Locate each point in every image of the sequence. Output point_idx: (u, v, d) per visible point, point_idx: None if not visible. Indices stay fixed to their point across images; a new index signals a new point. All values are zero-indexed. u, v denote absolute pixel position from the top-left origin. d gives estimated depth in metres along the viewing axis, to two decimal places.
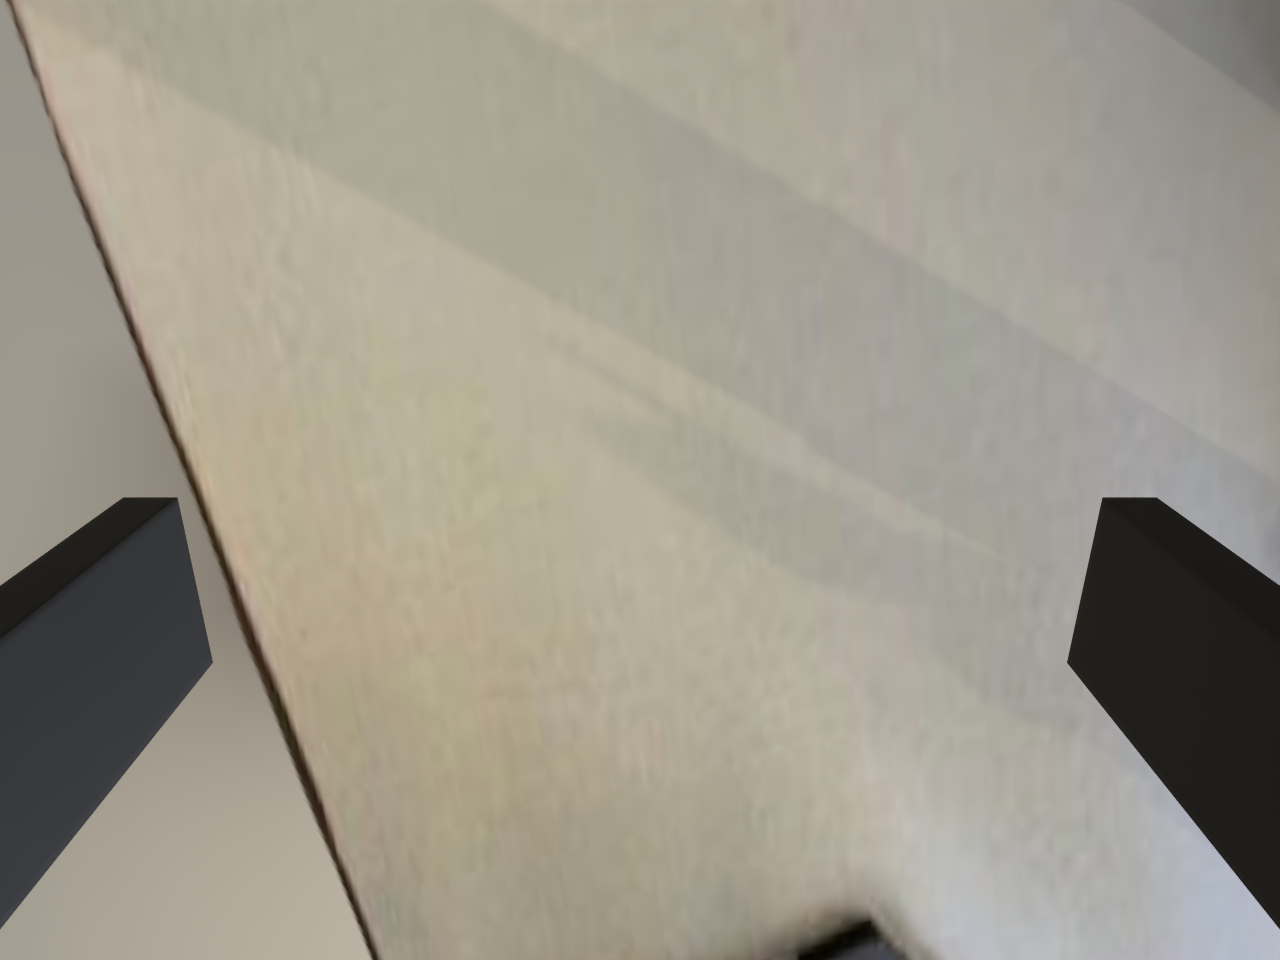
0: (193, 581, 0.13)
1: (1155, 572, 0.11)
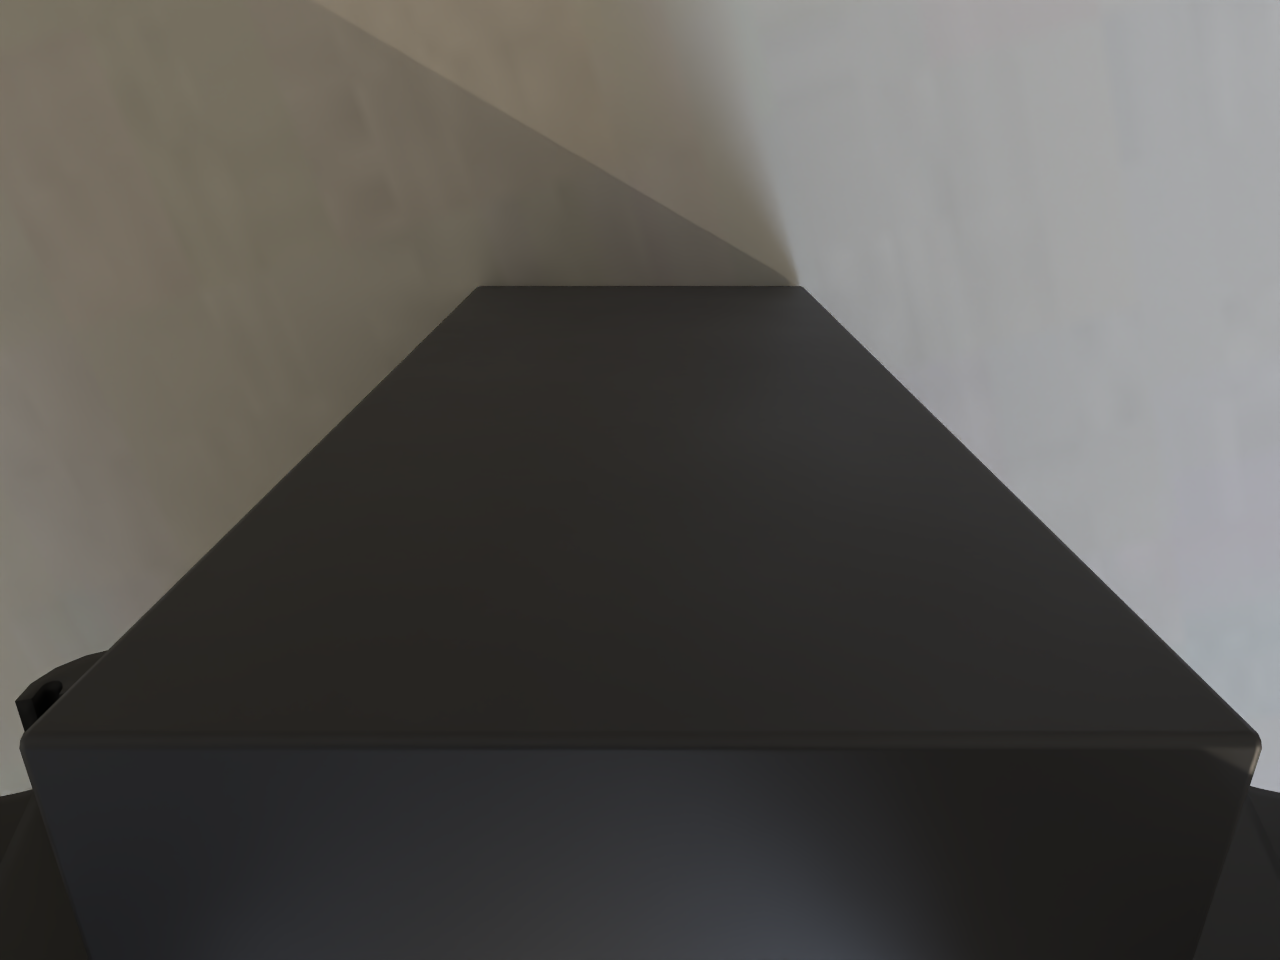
0: None
1: None
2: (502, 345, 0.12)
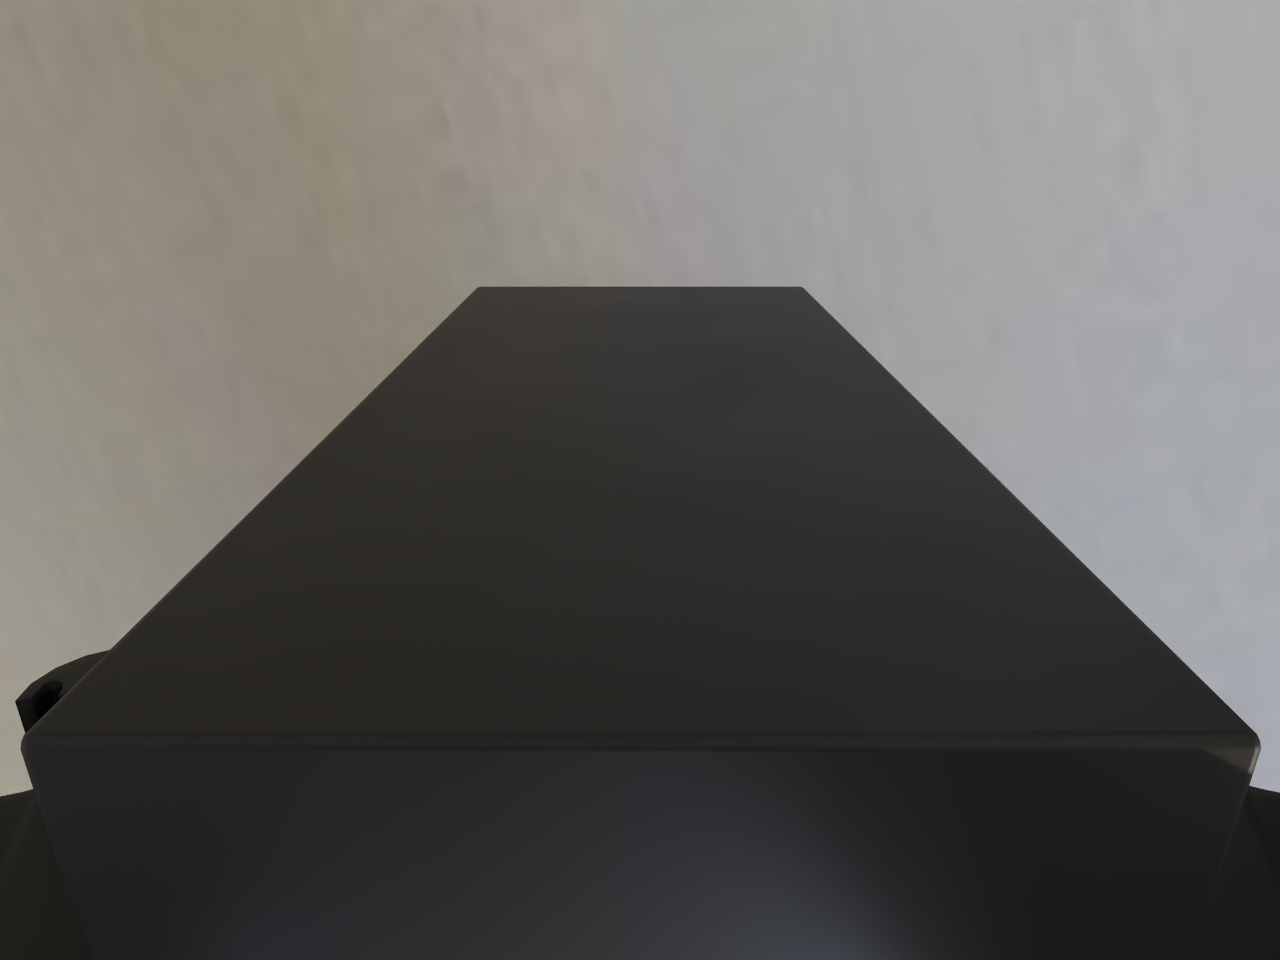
0: None
1: None
2: (502, 346, 0.12)
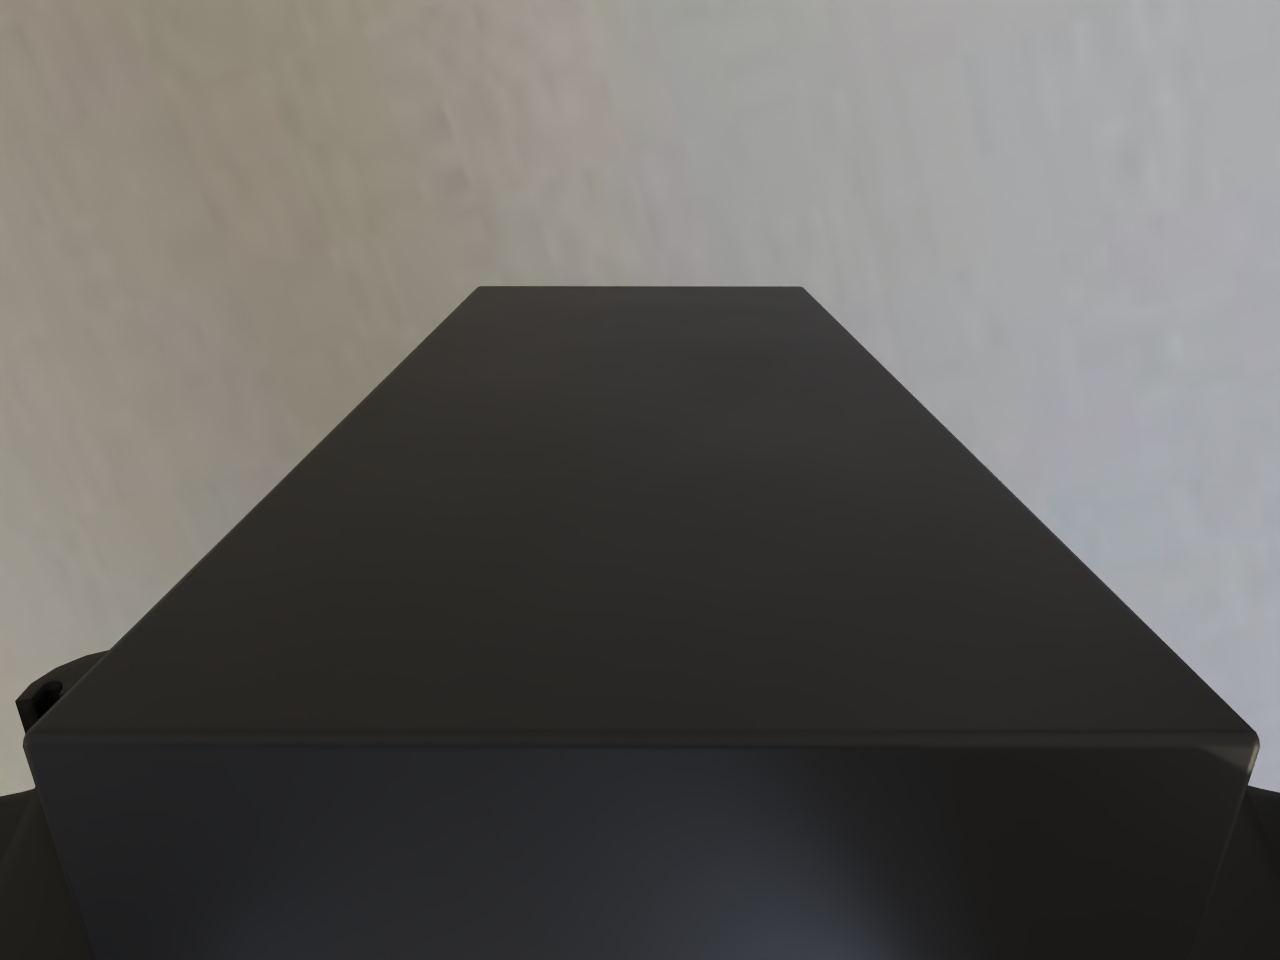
0: None
1: None
2: (502, 345, 0.12)
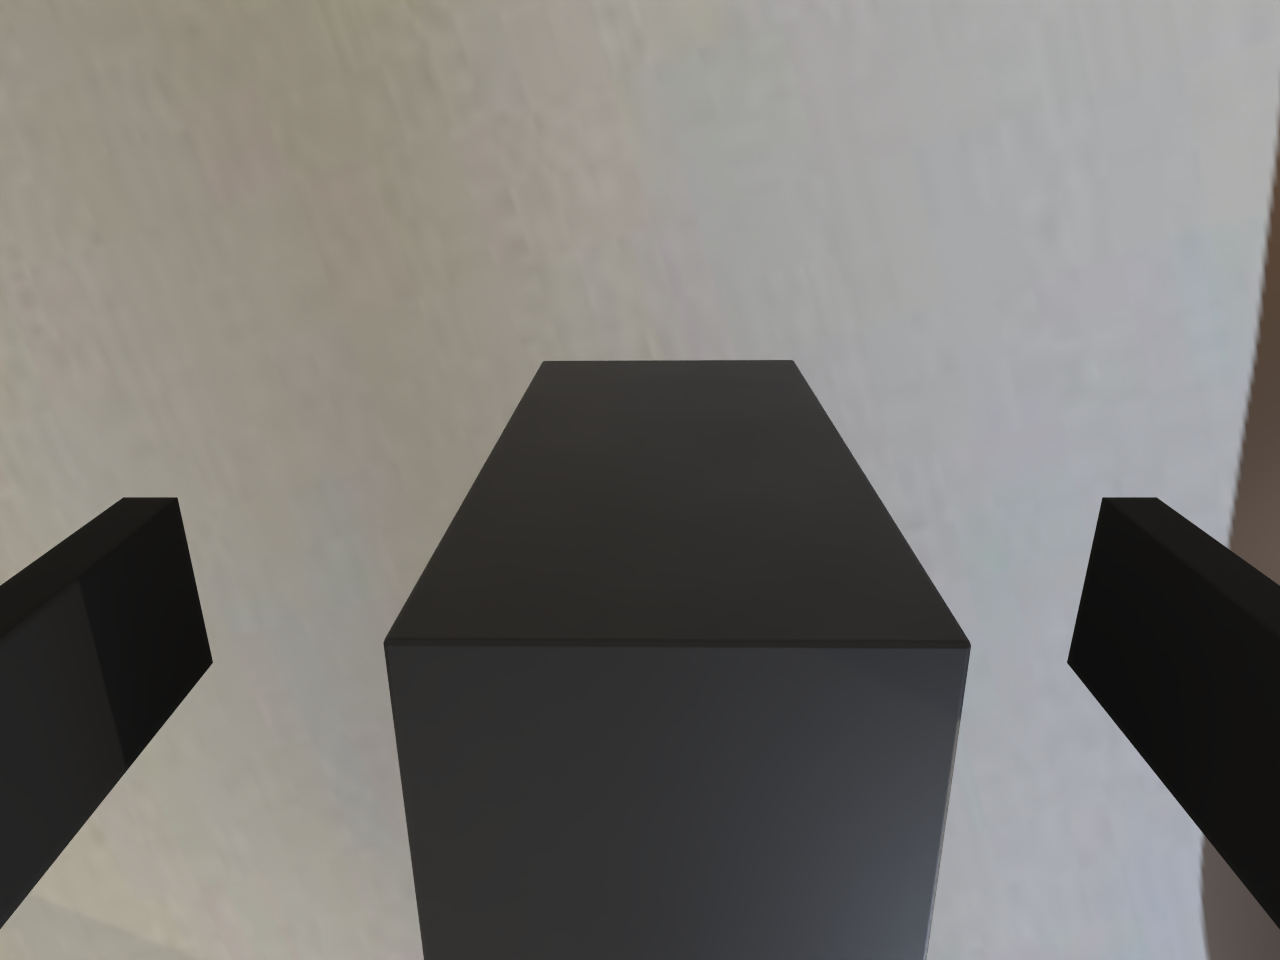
0: (193, 581, 0.13)
1: (1155, 572, 0.11)
2: (571, 416, 0.17)
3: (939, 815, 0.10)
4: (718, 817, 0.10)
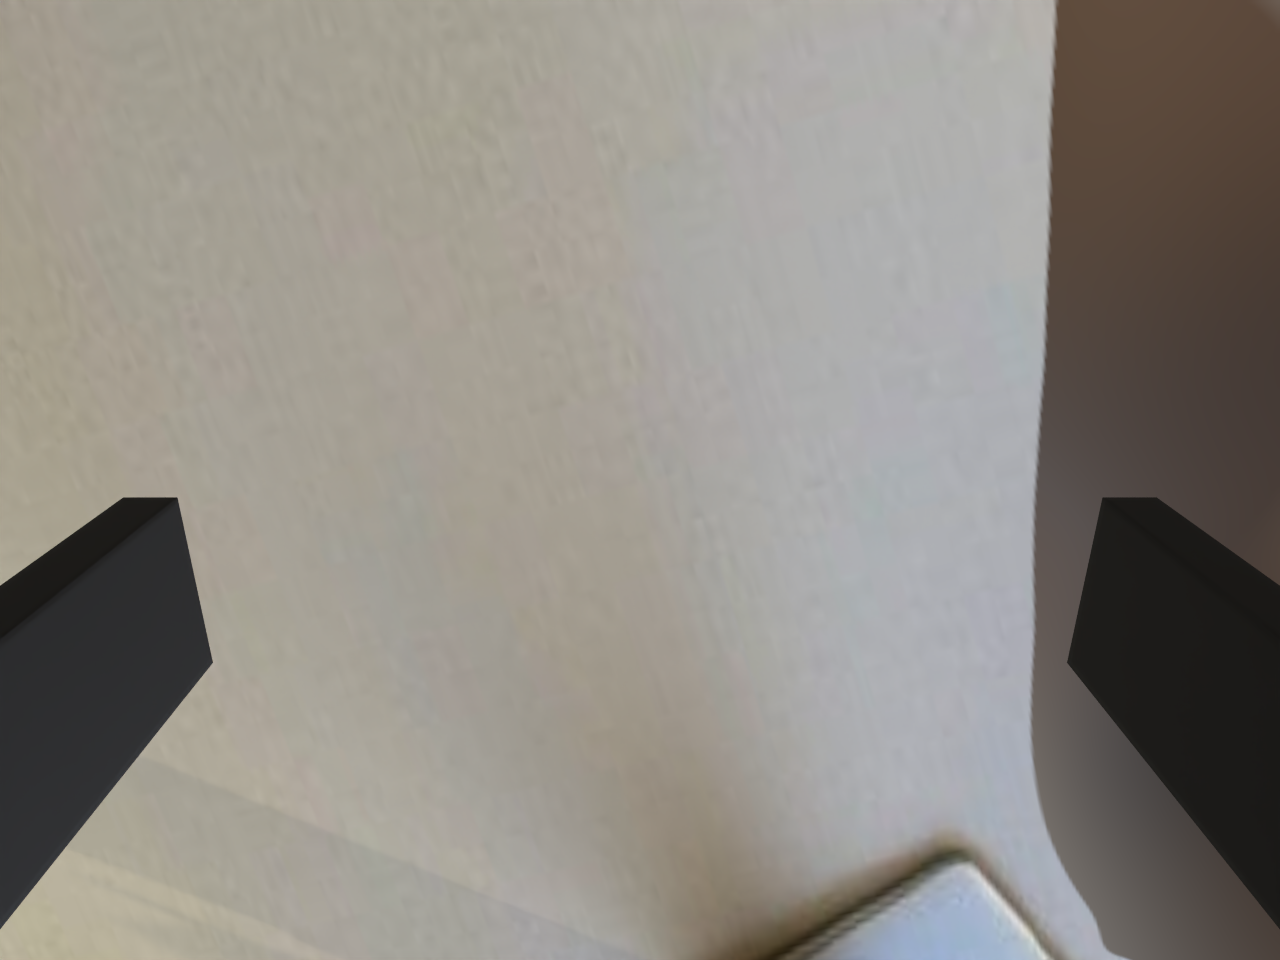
0: (193, 581, 0.13)
1: (1155, 572, 0.11)
2: None
3: None
4: None
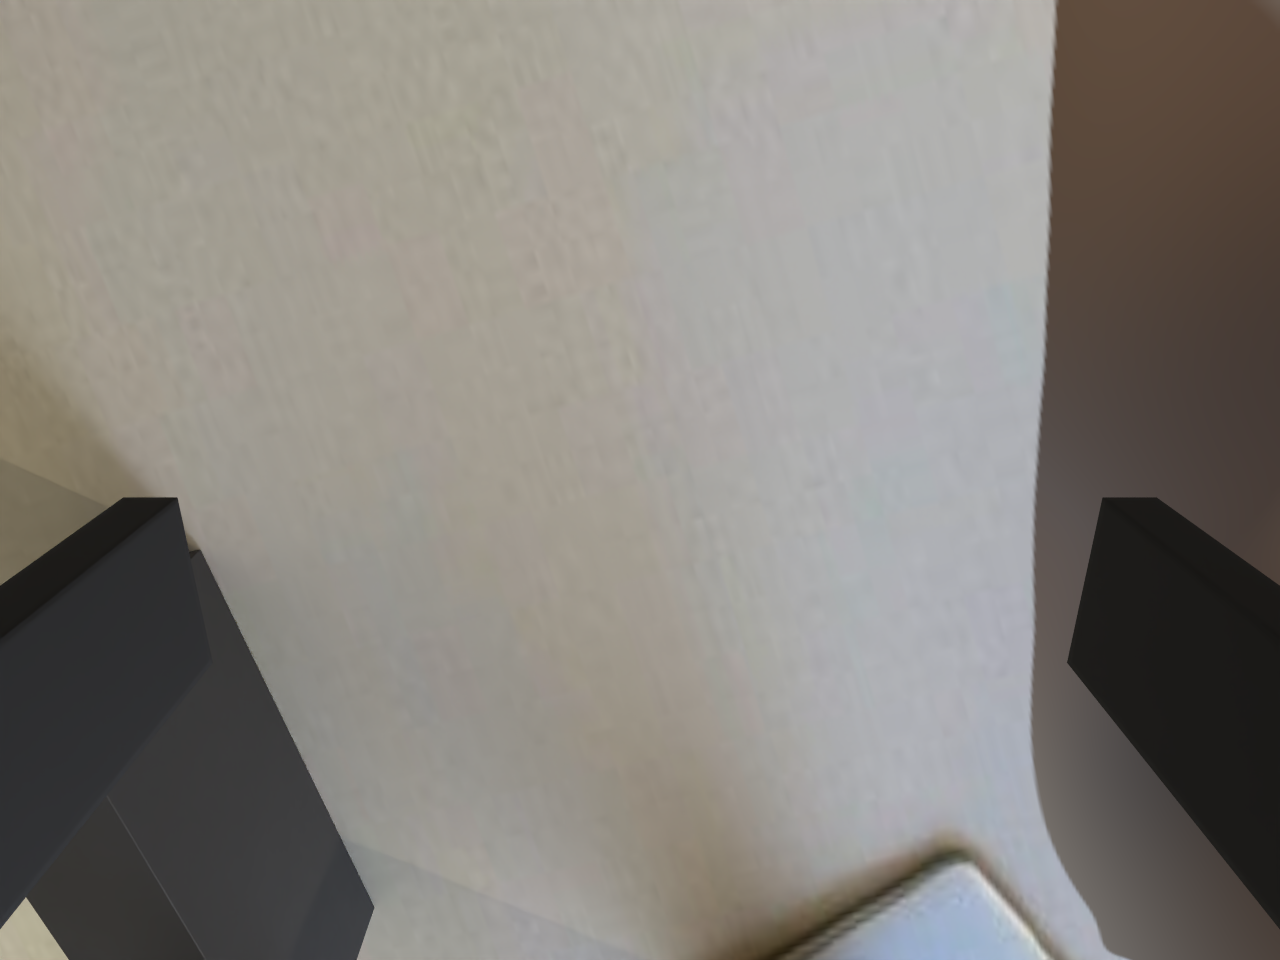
0: (193, 581, 0.13)
1: (1155, 572, 0.11)
2: None
3: None
4: None
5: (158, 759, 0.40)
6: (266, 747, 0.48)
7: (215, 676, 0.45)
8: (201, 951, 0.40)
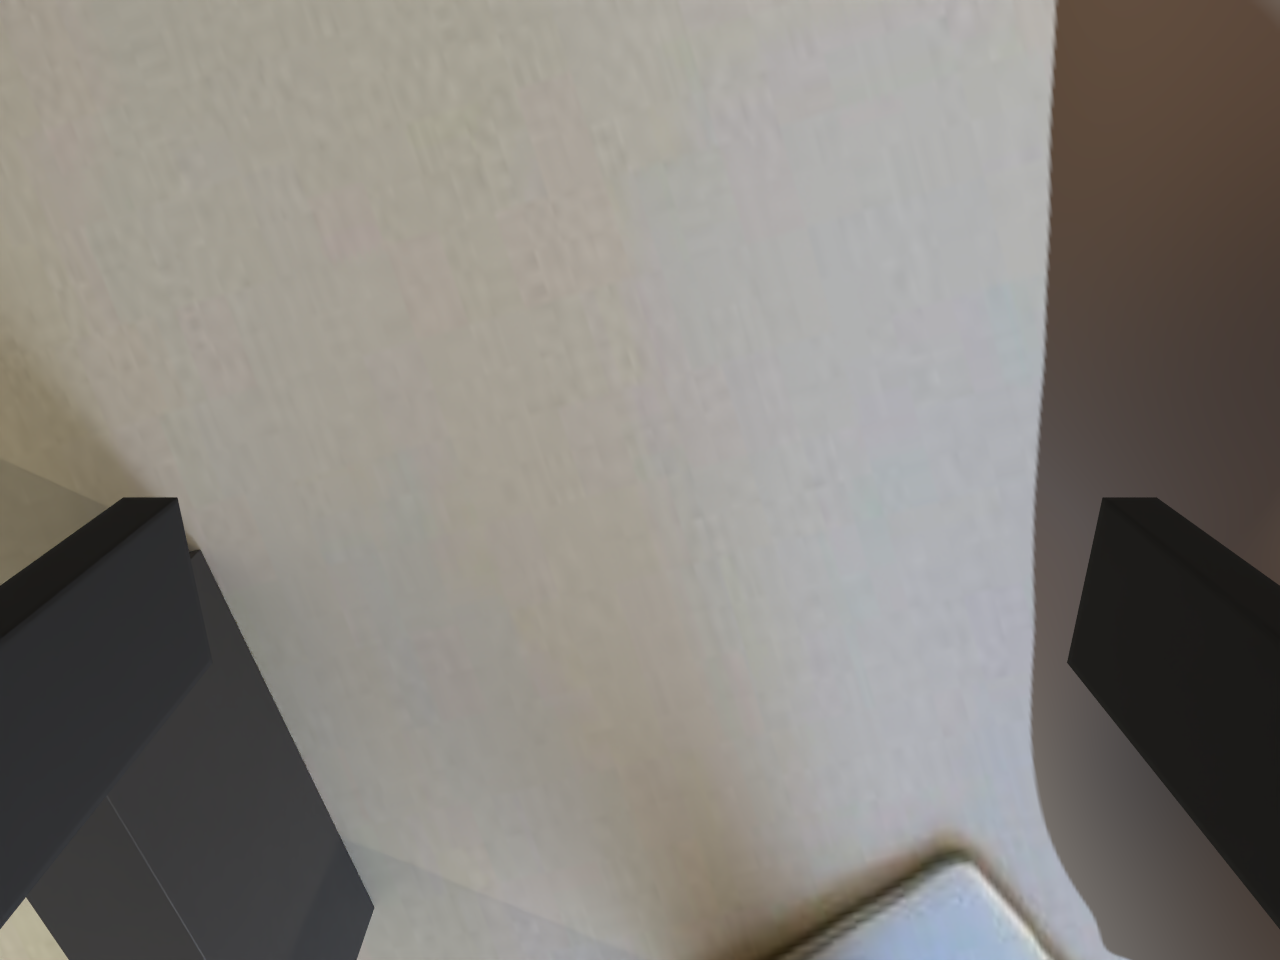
0: (193, 581, 0.13)
1: (1155, 572, 0.11)
2: None
3: None
4: None
5: (158, 759, 0.40)
6: (266, 747, 0.48)
7: (215, 676, 0.45)
8: (201, 951, 0.40)
